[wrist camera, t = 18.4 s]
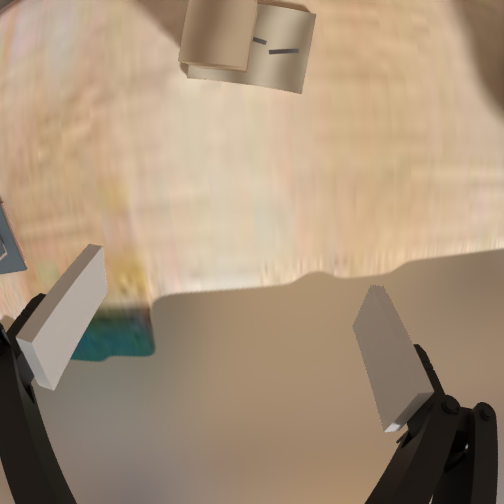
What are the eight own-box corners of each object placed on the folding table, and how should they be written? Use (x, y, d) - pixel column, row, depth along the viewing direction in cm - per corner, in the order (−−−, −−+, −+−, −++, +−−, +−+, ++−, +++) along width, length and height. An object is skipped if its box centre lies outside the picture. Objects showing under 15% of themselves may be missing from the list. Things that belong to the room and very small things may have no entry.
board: (314, 16, 30) (316, 14, 29) (299, 93, 35) (301, 93, 34) (202, 1, 29) (200, -2, 28) (189, 78, 34) (186, 77, 33)
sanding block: (257, 14, 29) (257, -10, 20) (247, 73, 33) (243, 66, 24) (207, 9, 28) (191, -15, 20) (197, 67, 32) (177, 61, 24)
